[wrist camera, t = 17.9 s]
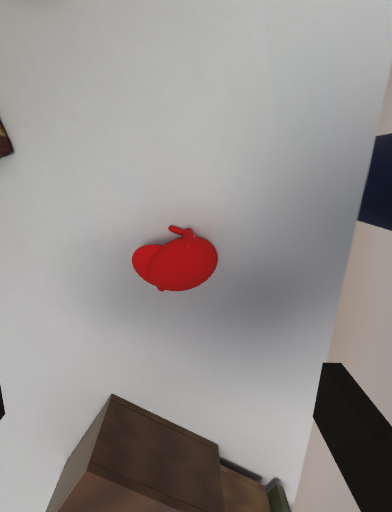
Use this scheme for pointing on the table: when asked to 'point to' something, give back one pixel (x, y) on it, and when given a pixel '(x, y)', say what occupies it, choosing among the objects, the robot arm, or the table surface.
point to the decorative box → (4, 143)
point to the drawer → (250, 494)
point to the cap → (176, 262)
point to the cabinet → (139, 466)
